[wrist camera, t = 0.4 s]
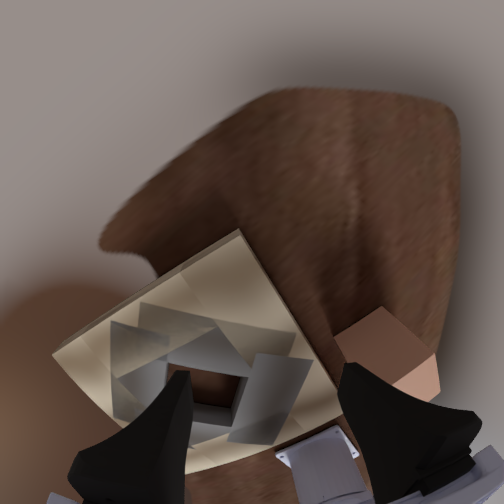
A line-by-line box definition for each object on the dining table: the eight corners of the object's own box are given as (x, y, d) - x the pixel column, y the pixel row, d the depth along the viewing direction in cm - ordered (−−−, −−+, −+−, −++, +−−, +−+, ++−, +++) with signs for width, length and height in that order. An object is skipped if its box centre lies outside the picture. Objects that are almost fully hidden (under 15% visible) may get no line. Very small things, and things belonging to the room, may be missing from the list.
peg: (395, 343, 24) (440, 391, 16) (351, 371, 24) (387, 429, 16) (381, 305, 22) (434, 353, 15) (333, 336, 23) (372, 397, 15)
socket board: (340, 393, 25) (349, 410, 22) (186, 458, 26) (185, 474, 23) (238, 228, 20) (240, 235, 17) (63, 340, 21) (51, 354, 18)
